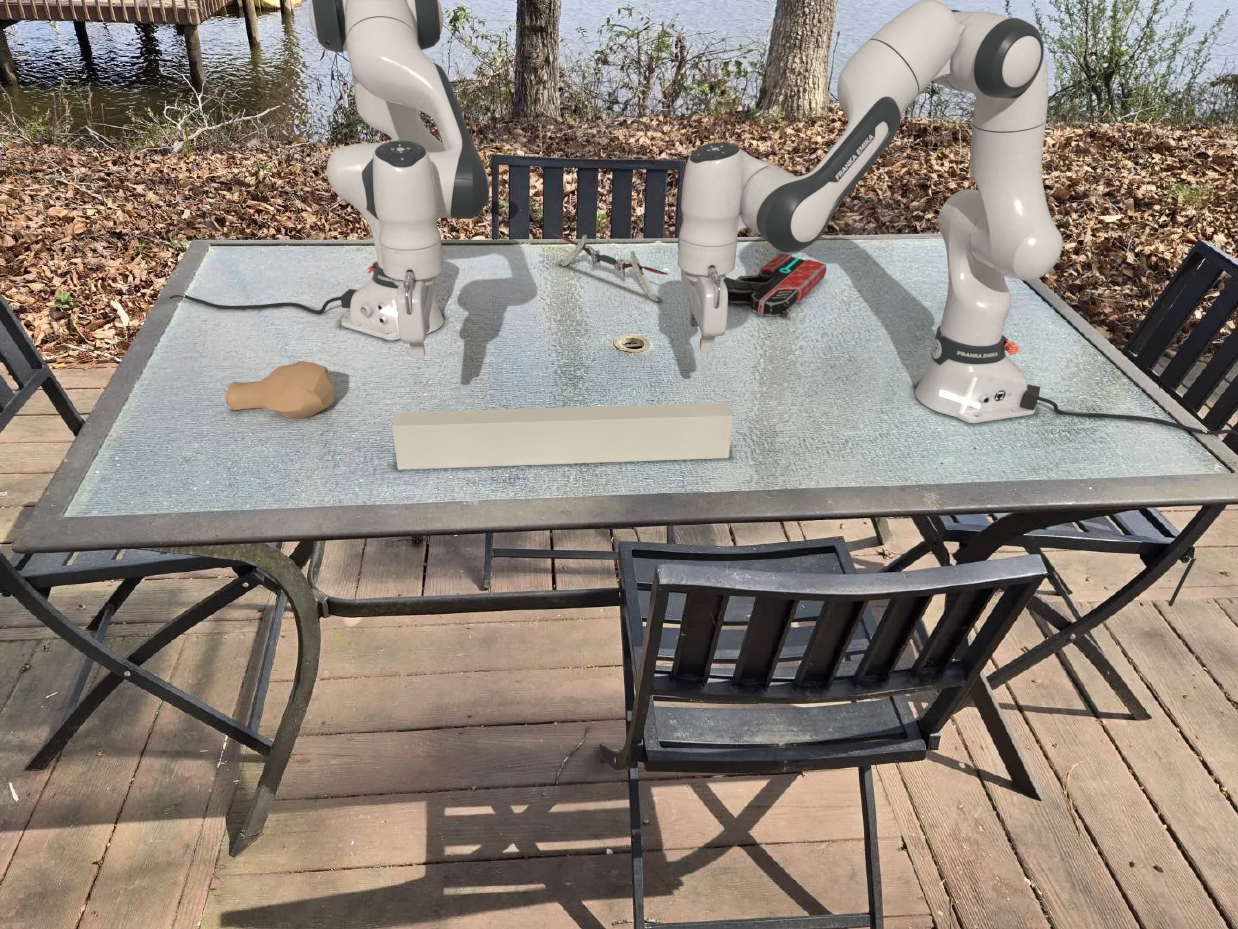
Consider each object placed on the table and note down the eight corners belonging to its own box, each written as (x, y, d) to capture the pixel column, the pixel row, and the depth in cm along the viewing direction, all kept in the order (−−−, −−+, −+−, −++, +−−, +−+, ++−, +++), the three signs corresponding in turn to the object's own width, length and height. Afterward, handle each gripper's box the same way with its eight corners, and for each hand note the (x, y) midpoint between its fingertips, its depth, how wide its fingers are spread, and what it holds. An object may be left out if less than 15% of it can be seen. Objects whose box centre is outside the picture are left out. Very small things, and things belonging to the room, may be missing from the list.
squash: (333, 425, 159) (316, 386, 153) (227, 433, 161) (206, 395, 155) (347, 387, 167) (331, 349, 161) (246, 396, 169) (227, 358, 162)
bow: (669, 303, 208) (671, 262, 203) (664, 305, 207) (666, 264, 202) (556, 260, 230) (555, 222, 224) (551, 262, 228) (550, 224, 223)
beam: (397, 469, 148) (391, 426, 143) (400, 454, 151) (394, 412, 147) (728, 458, 153) (733, 415, 148) (723, 444, 157) (728, 402, 152)
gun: (708, 284, 207) (784, 305, 199) (760, 245, 229) (831, 262, 221) (706, 302, 209) (781, 323, 201) (758, 261, 231) (828, 278, 223)
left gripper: (428, 285, 122) (437, 374, 129) (438, 235, 138) (446, 316, 146) (382, 286, 121) (393, 375, 129) (398, 235, 138) (407, 316, 145)
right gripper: (741, 280, 126) (732, 366, 134) (714, 232, 143) (707, 311, 150) (698, 281, 125) (691, 367, 133) (676, 233, 142) (671, 312, 150)
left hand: (421, 343), depth 138 cm, fingers open, 8 cm apart
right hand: (700, 337), depth 142 cm, fingers open, 8 cm apart
